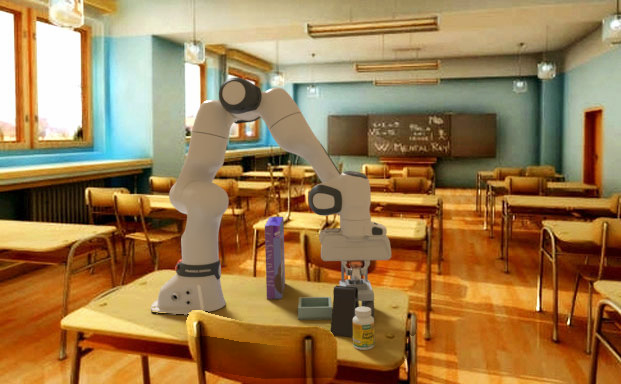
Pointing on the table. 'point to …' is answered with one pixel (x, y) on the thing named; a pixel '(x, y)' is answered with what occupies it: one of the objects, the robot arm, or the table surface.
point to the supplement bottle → (363, 329)
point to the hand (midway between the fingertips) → (355, 275)
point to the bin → (314, 308)
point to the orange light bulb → (355, 271)
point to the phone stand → (344, 310)
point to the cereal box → (275, 257)
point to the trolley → (361, 290)
